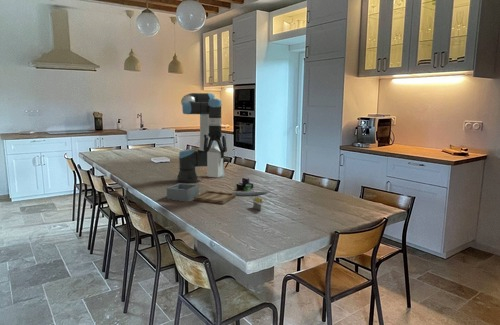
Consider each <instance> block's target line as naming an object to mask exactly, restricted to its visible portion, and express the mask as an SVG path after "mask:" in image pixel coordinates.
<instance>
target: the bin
mask: <svg viewBox="0 0 500 325" xmlns="http://www.w3.org/2000/svg"><path fill="white" fill-rule="evenodd" d="M199 187H200V186H199V185H198V184H191V183H182V182H177V183H176V184H173V185H171V186H168V187H166V199H167V200H170V199H171V200H172V201H177V200H179V201H178V202H185V201H188V202H190V201H192V200H194V199H193V198H194V197H195V196H197V195H199V194H200V192H199V190H200V188H199ZM191 199H192V200H191ZM189 200H190V201H189Z"/></svg>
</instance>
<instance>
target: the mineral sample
mask: <svg viewBox="0 0 500 325" xmlns="http://www.w3.org/2000/svg"><path fill="white" fill-rule="evenodd" d="M235 185H236V189H237V192H235V191H234V192H232V191H231V192H230V193H234V194H236V196H239V197H245V196H247V197H251V196H253V197H254V196H261V195H265V194H268V193H269V191H250V190H252V189H254V183H251V182H250V177H242V179H241V181H239V182H238V183H235ZM264 187H265V188H268V189H269V187H268V186H265V185H264ZM238 191H241V192H238ZM242 191H244V192H242ZM245 191H246V192H245ZM249 191H250V192H249ZM219 192H222V191H219ZM225 193H228V192H226V191H225Z"/></svg>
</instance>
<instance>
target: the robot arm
mask: <svg viewBox="0 0 500 325" xmlns="http://www.w3.org/2000/svg"><path fill="white" fill-rule="evenodd" d="M180 104H181V106H182V107H181V109H182V114H183V115H199V147H198V148H197V150H196V149H193V148H188V149H183V150H180V152H179V154H178V159H179V160H178V161H179V164H178V166H179V168H178V169H179V171H178V173H177V177H176V179H177V180H176V181H177V183H182V184H191V183H196V182H198V180H199V179H198V176H197V175H198V174H197V172H196V168H197V167H202V168H203V167H207V152H208V151H209V150H210V148H211V147H212V146H213V142H214V141H215V142H216V143H217V145H218V147H219V149H220V164H222V163H223V158H225V153H227V152H228V148H227V147H228V146H227V135H225V134H222V105H223V104H222V99H221V98H216V96H215V94H213V93H210V92H209V93H208V92H207V93H206V92H204V93H203V92H200V93H199V92H198V93H197V92H191V93H188V94H185V95H183V96H182V98H181V100H180Z"/></svg>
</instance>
